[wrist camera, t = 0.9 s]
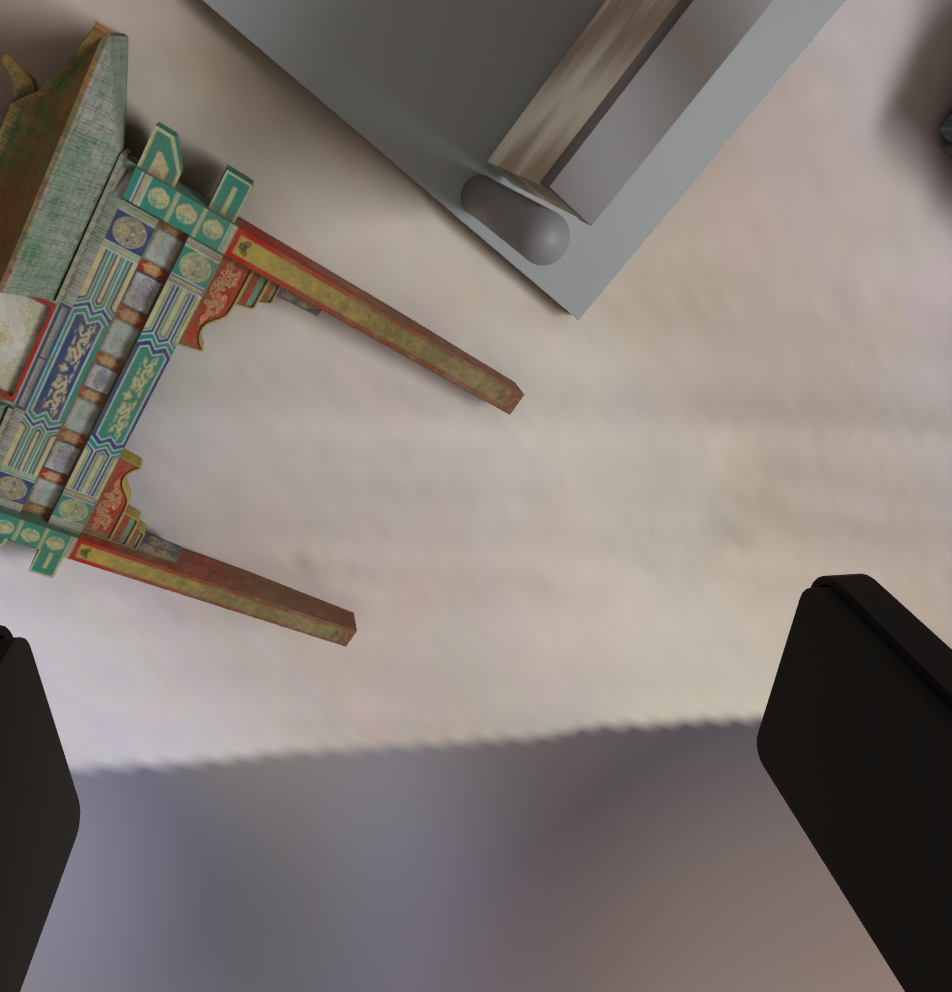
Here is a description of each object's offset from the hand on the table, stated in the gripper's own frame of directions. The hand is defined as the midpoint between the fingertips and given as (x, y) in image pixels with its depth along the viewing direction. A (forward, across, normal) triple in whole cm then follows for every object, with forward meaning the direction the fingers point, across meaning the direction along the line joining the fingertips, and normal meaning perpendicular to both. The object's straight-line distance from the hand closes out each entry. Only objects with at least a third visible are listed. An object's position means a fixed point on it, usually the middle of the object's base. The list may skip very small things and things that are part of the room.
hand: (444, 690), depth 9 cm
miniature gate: (+31, +10, +7) cm, 33 cm away
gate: (+29, -10, -10) cm, 32 cm away
